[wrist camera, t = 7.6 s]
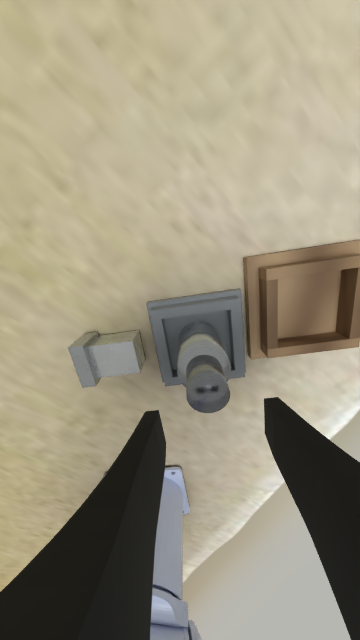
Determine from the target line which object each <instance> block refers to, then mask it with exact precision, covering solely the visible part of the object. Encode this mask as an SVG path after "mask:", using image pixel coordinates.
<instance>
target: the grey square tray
mask: <svg viewBox="0 0 360 640" xmlns="http://www.w3.org/2000/svg"><path fill="white" fill-rule="evenodd" d="M147 308H148V313H149V318H150V322H151V327H152V332H153V337H154V342H155V347H156V351H157V356H158V361H159V366H160V371H161V376H162V380H163V382H164V383H165V386H171V385H180V384H182V383H181V381H180V380H179V377H178V374H177V364H178V346H179V335H180V332H181V331H182V329H183V328H184V327H185V326H186V325H188V324H189V323H191V322H195V321H204V322H207V323H209V324H211V325H212V326H213V327H214V328H215V329H216V330H217V332H218V335H219V337H220V339H221V342H222V344H223V347H224V349H225V351H226V354H227V356H228V359H229V361H230V364H231V374H230V377H229V379H231V378H240V377H245V373H246V369H245V351H244V333H243V315H242V296H241V289H233V290H226V291H219V292H212V293H205V294H198V295H191V296H184V297H177V298H170V299H163V300H156V301H149V302H147Z"/></svg>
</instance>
